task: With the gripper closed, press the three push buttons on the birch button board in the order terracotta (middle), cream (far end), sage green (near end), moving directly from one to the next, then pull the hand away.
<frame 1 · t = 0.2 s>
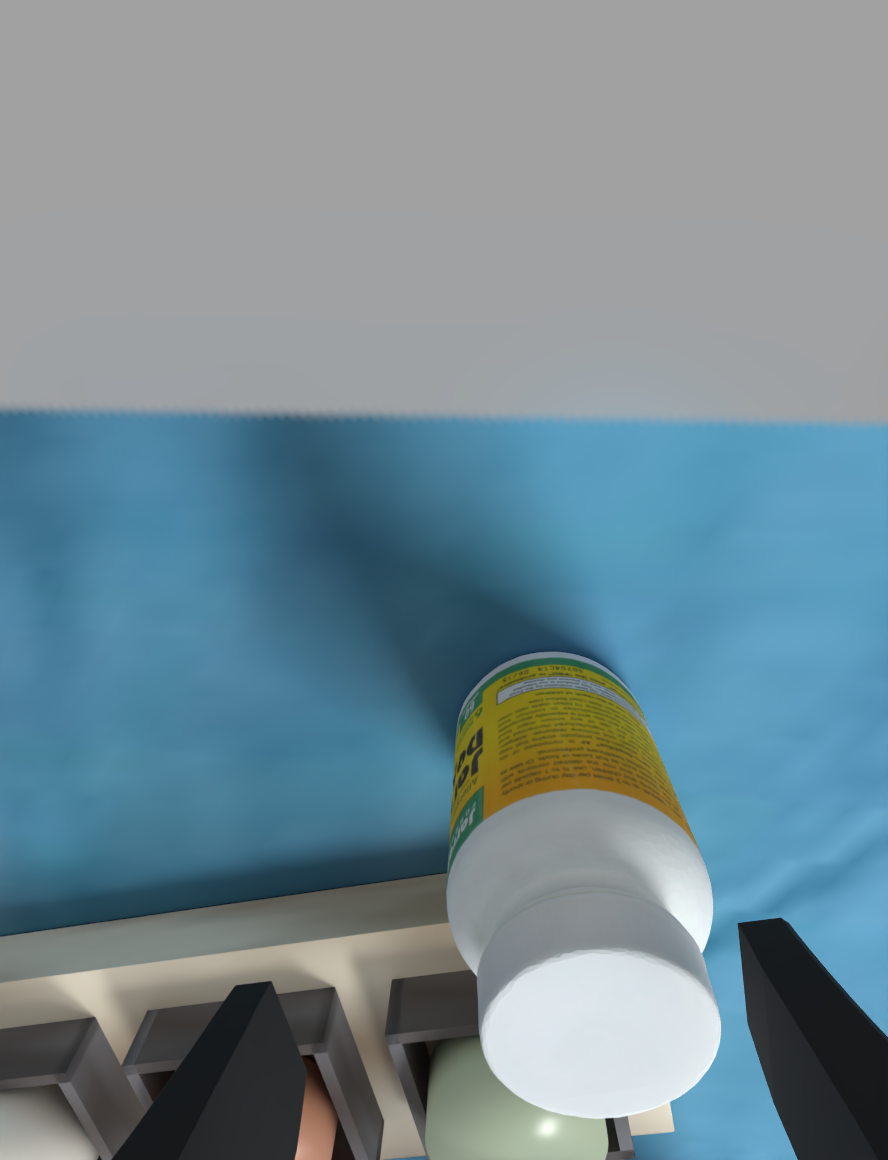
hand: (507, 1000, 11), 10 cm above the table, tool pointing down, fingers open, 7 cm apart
supplement bottle: (547, 723, 21), on the table
button cream: (9, 1157, 23), point 4 cm above the table, slide at 0.0 cm
button sage: (514, 1106, 21), point 4 cm above the table, slide at 0.0 cm
button terracotta: (251, 1133, 22), point 4 cm above the table, slide at 0.0 cm
button board: (284, 1011, 25), on the table
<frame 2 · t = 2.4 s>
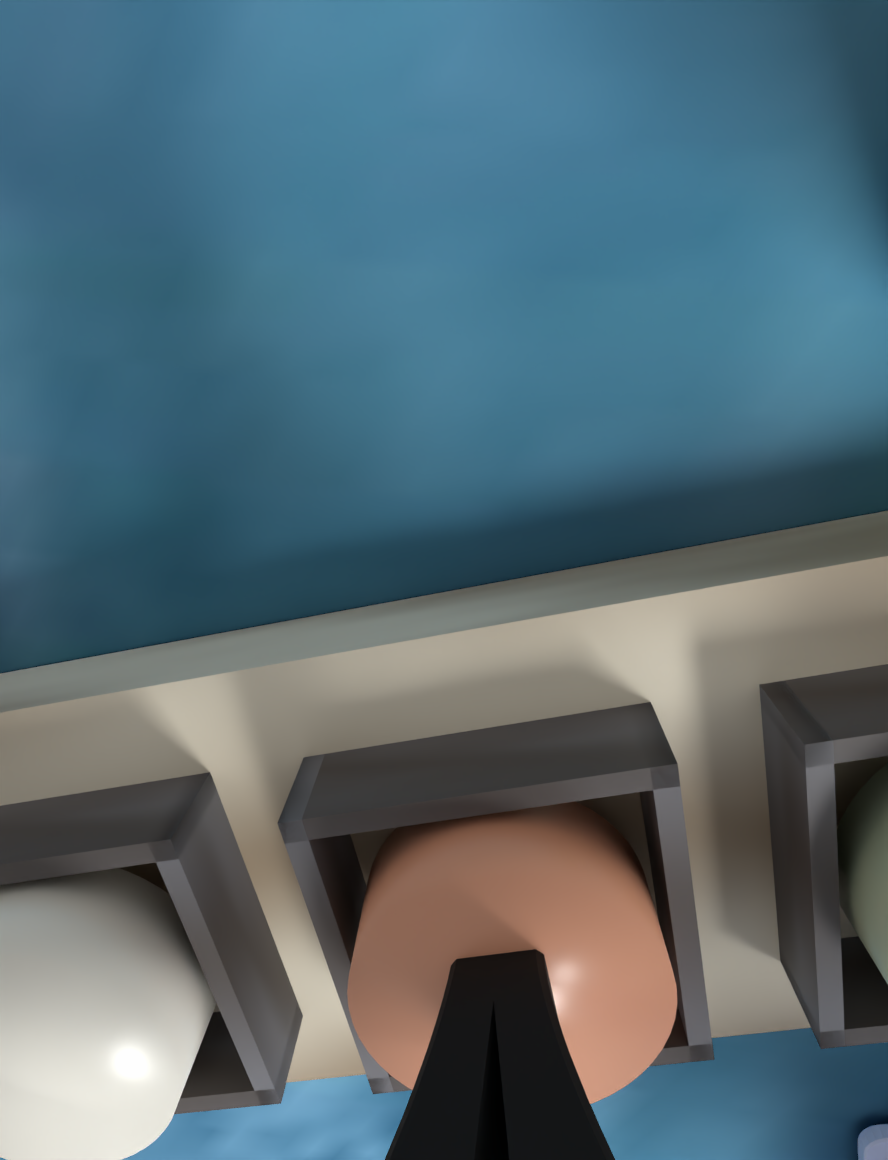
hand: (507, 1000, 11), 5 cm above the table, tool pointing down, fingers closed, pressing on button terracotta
button cream: (61, 1012, 13), point 4 cm above the table, slide at 0.0 cm
button terracotta: (507, 950, 12), point 4 cm above the table, slide at 0.2 cm, touching gripper
button board: (501, 802, 16), on the table
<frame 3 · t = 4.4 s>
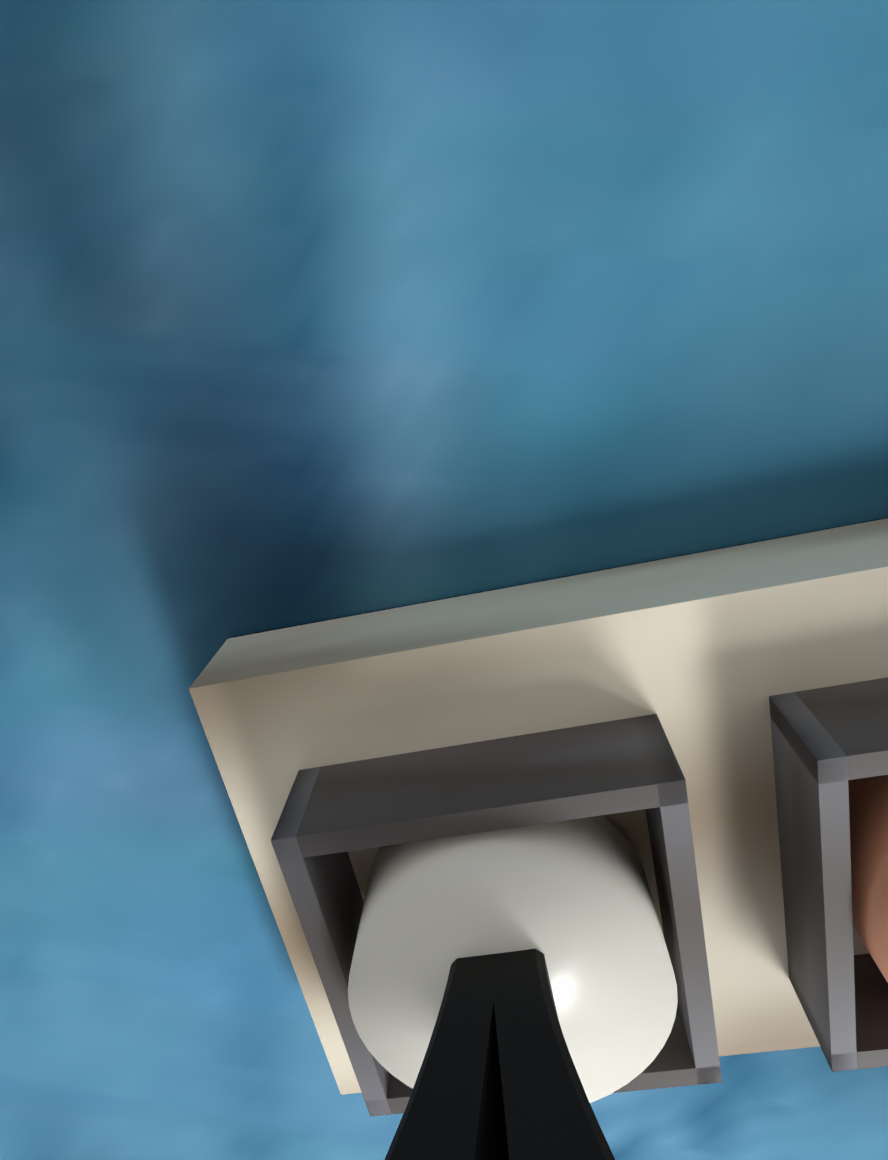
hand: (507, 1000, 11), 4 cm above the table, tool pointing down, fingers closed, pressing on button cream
button cream: (508, 949, 12), point 3 cm above the table, slide at 0.6 cm, touching gripper
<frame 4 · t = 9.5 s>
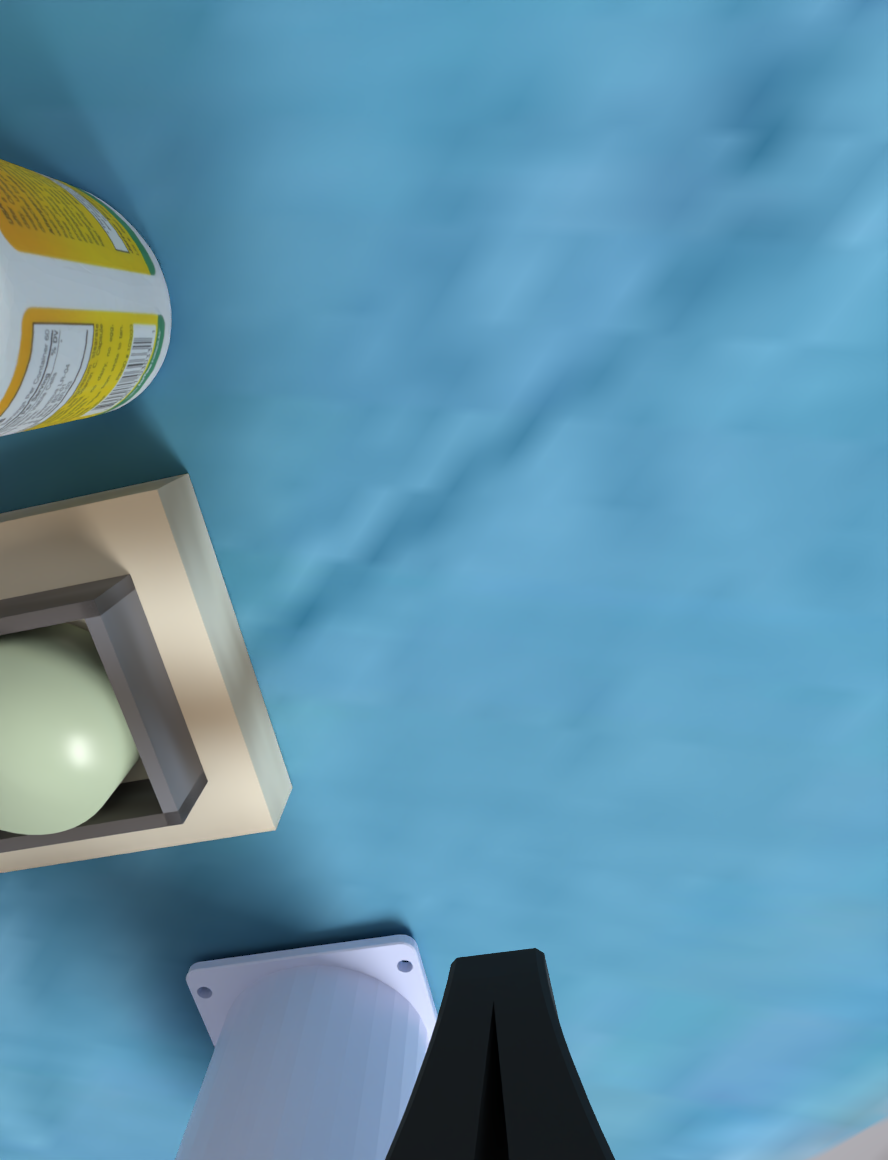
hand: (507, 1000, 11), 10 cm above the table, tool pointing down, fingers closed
supplement bottle: (75, 303, 18), on the table
button sage: (36, 726, 18), point 3 cm above the table, slide at 0.8 cm
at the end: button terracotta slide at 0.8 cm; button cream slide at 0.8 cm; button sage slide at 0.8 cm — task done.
